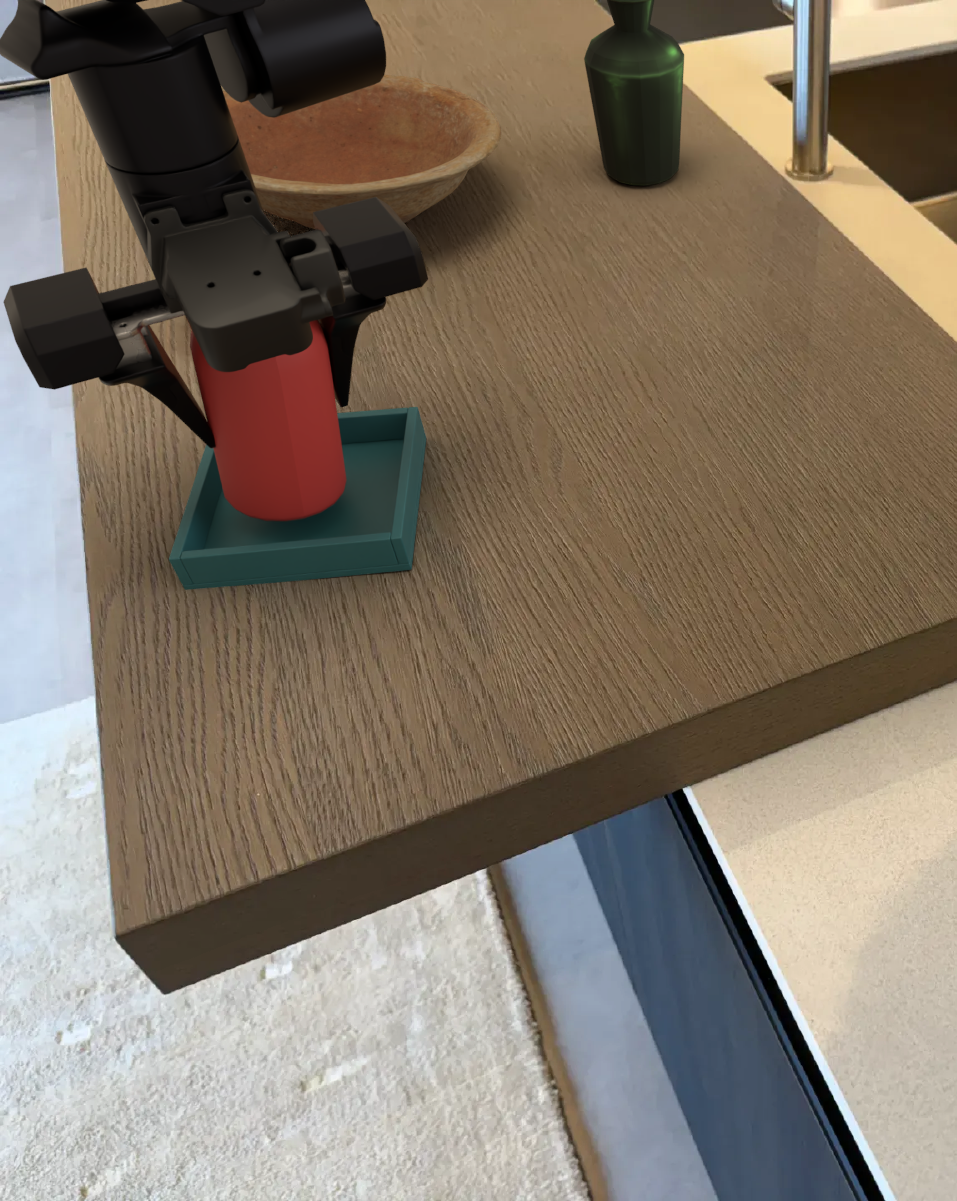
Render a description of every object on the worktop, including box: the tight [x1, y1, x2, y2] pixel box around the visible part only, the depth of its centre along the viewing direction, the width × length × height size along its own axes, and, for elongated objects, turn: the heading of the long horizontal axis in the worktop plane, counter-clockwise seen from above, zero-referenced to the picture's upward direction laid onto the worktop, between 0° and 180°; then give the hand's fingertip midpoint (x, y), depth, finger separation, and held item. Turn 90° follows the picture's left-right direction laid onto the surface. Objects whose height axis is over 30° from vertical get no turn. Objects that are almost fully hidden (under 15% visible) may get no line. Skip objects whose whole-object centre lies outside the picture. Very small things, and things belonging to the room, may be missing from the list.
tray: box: [168, 406, 427, 591], centre depth 67 cm, size 12×12×2 cm
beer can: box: [189, 320, 346, 522], centre depth 62 cm, size 7×7×12 cm
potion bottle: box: [583, 0, 685, 186], centre depth 92 cm, size 8×8×18 cm
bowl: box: [223, 74, 502, 230], centre depth 90 cm, size 24×24×8 cm
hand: (278, 423), depth 63 cm, fingers closed on beer can, 7 cm apart
